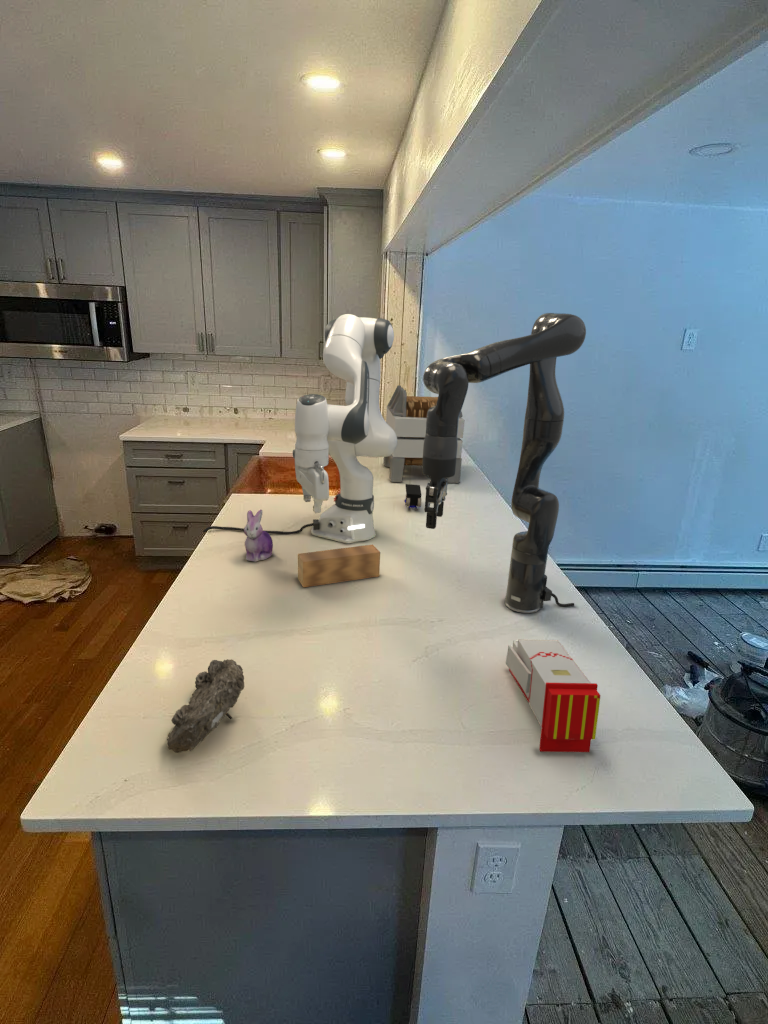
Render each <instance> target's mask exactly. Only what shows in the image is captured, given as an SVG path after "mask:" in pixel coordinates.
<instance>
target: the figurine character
mask: <svg viewBox="0 0 768 1024" xmlns="http://www.w3.org/2000/svg"><path fill="white" fill-rule="evenodd" d="M403 502H404V503H405V505H404V506H405V507H406V508H408V509H407V510H408V511H411V509H415V511H416V512H417V511H418V508H421V507H422V489H421V484H411V483H405V499H404V500H403Z"/></svg>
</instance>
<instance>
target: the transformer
mask: <svg viewBox="0 0 768 1024" xmlns="http://www.w3.org/2000/svg"><path fill="white" fill-rule="evenodd" d="M407 394H408V393H407V390H406V389H404V388H403V387H402V385H399V384H398V385H397V386H396V388H395V390H394V392H393V394H392V395H391V398H390V400H389V402H388V404H387V405H386V413H385V414H386V415H385V422H386V423H387V424H388V425H389V426H390V427H391V428H392V429H393V430H394V431H395V433H396V436H397V446H396V449H395V451H394V452H393V453H392V454H391V455H390V456H387V457H383V466H384V467H388V468H389V475H388V476H389V477H388V478H389V480H390V482H391V483H402V482H403V475H404V469H405V466H406V467H407V466H411V467H412V466H413V467H415V466H416V467H417V466H418V467H422V460H423V445H424V439H425V433H426V419H427V412H428V410H429V409H430V408H431V407H433V406H436V404H437V400H438V396H415V395H414V396H413V395H412V396H411V395H407ZM464 429H465V419H464V418H463V411H461V412H460V414H459V421H458V432H457V457H456V468H455V475H454V476H453V477H450V478H448V482H447V484H448V483H449V484H455V483H456V484H459V483H461V472H462V461H463V460H462V453H463V442H464V441H463V440H462V439H463V438H464V431H465V430H464Z"/></svg>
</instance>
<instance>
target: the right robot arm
mask: <svg viewBox="0 0 768 1024" xmlns="http://www.w3.org/2000/svg"><path fill="white" fill-rule="evenodd" d="M586 334H587V329H586V324H585V322H584V320H583V319H582V318H581V317H580V316H578V315H576V314H572V313H564V312H563V313H562V312H545V313H542V314H541V315H539V316H538V317H537V318H536V319H535V321H534V324H533V325H532V328H531V332H530V334H528V335H525V336H520V337H515V338H509V339H504V340H500V341H496V342H492V343H489V344H487V345H486V344H485V345H484V346H481V347H478V348H476V349H473V350H471V351H469V352H465V353H461V354H454V355H451V356H446V357H442V358H439V359H437V360H435V361H433V362H431V363H430V364H429V365H427V366H426V368H425V370H424V372H423V376H422V381H423V386H424V387H425V388H426V389H427V391H430V393H433V394H435V395H438V396H437V397H438V400H437V404H436V406H433V407H431V408H430V409H429V410H428V412H427V419H426V433H425V439H424V445H423V460H422V466H421V473H422V475H424V476H425V477H429V478H430V479H429V482H428V483H427V485H426V487H425V498H424V499H425V501H424V509H423V512H424V513H426V516H425V517H426V519H425V527H426V528H427V529H429V530H435V529H436V527H437V519H438V518H442V517H443V515H444V505H445V501H446V497H447V496H448V478H450V477H453V476H454V475H455V468H456V457H457V432H458V421H459V414H460V412H462V409H463V406H464V403H465V400H466V397H467V393H468V390H469V384H479V383H484V382H486V381H489V380H491V379H493V378H495V377H498V376H501V375H503V374H506V373H508V372H510V371H513V370H516V369H518V368H522V367H525V366H527V365H529V378H528V389H527V399H526V408H525V413H524V420H523V421H524V422H523V428H522V429H523V430H522V441H521V447H520V454H519V455H520V456H519V462H518V468H517V473H516V478H515V483H514V486H513V490H512V495H511V501H510V502H511V504H510V505H511V511H512V514H513V515H514V516H515V517H516V518H518V519H520V520H522V521H524V522H526V523H528V527H527V530H525V531H519V532H517V533H515V534H514V536H513V539H512V547H511V554H510V561H509V562H510V564H509V567H508V568H509V570H508V576H507V584H506V592H505V598H504V605H505V606H506V607H507V608H508V609H510V610H511V611H513V612H517V613H521V614H533V613H536V612H538V611H539V610H541V609H543V607H544V602H550V601H552V598H554V602H555V604H556V605H557V606H558V607H559V608H567V607H574V606H575V602H568V603H560V602H559V598H558V596H557V595H556V594H555V593H553V590H551V589H550V588H549V587H547V583H548V576H547V575H546V568H547V560H548V554H549V550H550V545H551V543H552V541H553V538H554V535H555V531H556V526H557V521H558V517H559V512H560V502H559V498H558V496H557V495H556V494H554V493H552V492H551V491H548V490H545V489H543V488H540V479H541V478H540V477H541V472H542V469H543V466H544V464H545V463H546V461H547V460H548V459H549V457H550V456H551V455H552V454H553V452H554V451H555V450H556V448H557V446H558V445H559V443H560V441H561V439H562V434H563V429H564V422H565V421H564V420H565V407H564V402H563V398H562V395H561V392H560V389H559V385H558V383H557V376H556V375H557V374H556V368H557V358H559V357H560V358H561V357H564V356H565V357H566V356H571V355H573V354H575V353H576V352H577V351H579V349H581V347H582V346H583V344H584V342H585V340H586V336H587V335H586ZM431 504H433V507H430V506H431Z"/></svg>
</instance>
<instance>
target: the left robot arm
mask: <svg viewBox="0 0 768 1024" xmlns="http://www.w3.org/2000/svg"><path fill="white" fill-rule="evenodd" d="M392 324H393V323H392V322H390V320H388V319H386V318H381V317H378V318H376V317H375V318H374V317H366V316H362V317H361V316H359V317H358V316H357V315H355V314H352V313H346V314H341V315H339V316H338V317H337V318H336V319H332V320H330V321H329V322H328V323H327V324H326V326H325V329H324V341H325V344H324V346H323V350H322V351H323V352H322V359H323V363H324V367H326V369H327V370H328V372H329V373H331V374H332V375H333V376H335V377H336V378H338V379H341V380H343V381H346V384H345V394H344V402H345V405H340V404H331V403H328V401H327V398H326V397H325V396H324V395H321V394H318V393H309V394H304V395H301V396H299V397H298V398H297V400H296V406H295V412H294V413H295V414H294V432H295V436H296V440H295V444H294V449H292V458H293V459H294V471H295V472H294V473H295V478H296V481H297V483H299V485H300V486H301V490H302V494H303V501H304V503H311V502H312V499H313V505H312V511H313V513H314V514H320V513H321V514H320V515H319V517H318V519H317V518H316V519H312V522H311V523H307V524H304V525H302V526H301V527H300V529H298V530H294V531H284V530H283V531H281V530H263V531H266V532H267V533H269V534H270V535H271V534H274V535H296V534H300V533H302V532H303V530H304V529H306V528H309V527H312V528H311V530H310V533H311V536H315V537H319V538H323V539H326V540H330V541H336V542H339V543H343V544H352V543H357V542H365V541H368V540H372V539H373V538H375V537H376V535H377V532H376V528H375V523H374V513H373V512H374V509H375V496H374V474H373V472H372V471H371V469H369V468H368V467H366V466H365V465H364V464H362V463H360V461H359V460H358V458H357V457H360V458H361V457H362V458H375V459H377V458H378V459H379V458H384V457H387V456H390V455H391V454H392V453H393V452H394V451H395V449H396V446H397V436H396V433H395V431H394V430H393V429H392V428H391V427H390V426H389V425H388V424H387V423H386V419H384V417H383V415H382V412H381V409H380V387H381V359H383V358H384V356H385V355H386V354H388V352H389V351H390V350H391V349H392V347H393V343H394V341H395V340H394V338H395V332H394V328H393V325H392ZM329 456H330V457H331V458H332V460H333V461H334V464H335V465H336V467H337V470H338V473H339V483H340V484H339V485H340V488H339V489H340V490H339V491H338V492H337V494H336V495H335V496H334V497H333V502H334V504H333V505H331V506H329V507H328V508H326V509H325V510H323V512H322V506H323V503H324V502H327V501H328V500H329V498H330V482H329V474H328V472H327V471H326V470H325V467H327V466H328V465H329V464H330V463H329V459H330V457H329ZM244 528H245V527H244ZM244 528H243V527H235V526H218V525H211V526H208V527H206V528H205V529H203V530H202V532H203V533H207V532H208V531H210V530H220V531H221V530H222V531H224V530H225V531H238V532H244Z"/></svg>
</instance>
